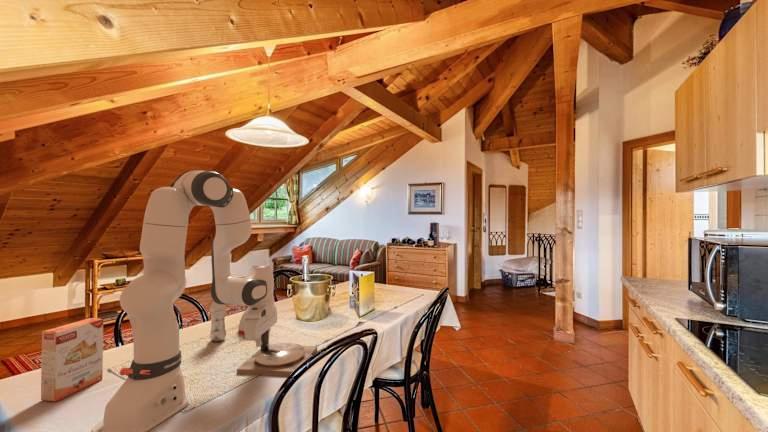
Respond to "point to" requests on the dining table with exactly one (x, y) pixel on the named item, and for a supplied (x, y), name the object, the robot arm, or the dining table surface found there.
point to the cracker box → (71, 358)
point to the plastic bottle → (217, 322)
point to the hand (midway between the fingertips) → (262, 343)
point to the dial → (278, 353)
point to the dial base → (286, 370)
